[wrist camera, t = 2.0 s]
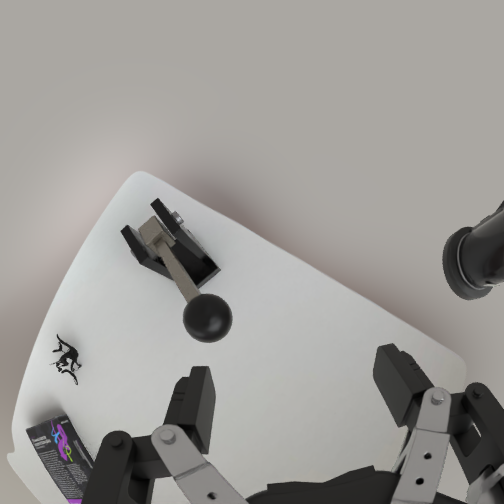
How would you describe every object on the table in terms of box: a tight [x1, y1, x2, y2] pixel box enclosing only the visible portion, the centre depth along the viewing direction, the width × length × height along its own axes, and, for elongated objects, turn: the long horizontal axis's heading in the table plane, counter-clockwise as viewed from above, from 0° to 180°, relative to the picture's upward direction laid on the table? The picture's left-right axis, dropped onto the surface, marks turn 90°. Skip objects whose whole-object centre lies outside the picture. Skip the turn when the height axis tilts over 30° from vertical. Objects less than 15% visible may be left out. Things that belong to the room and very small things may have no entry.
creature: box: [50, 334, 81, 385], centre depth 32 cm, size 8×5×8 cm
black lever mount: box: [121, 198, 221, 289], centre depth 30 cm, size 7×6×13 cm
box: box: [26, 415, 94, 504], centre depth 26 cm, size 14×4×20 cm
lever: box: [138, 215, 233, 343], centre depth 22 cm, size 14×4×4 cm, turn 40°
